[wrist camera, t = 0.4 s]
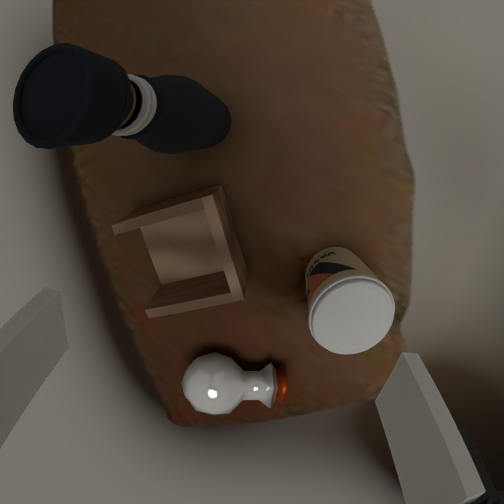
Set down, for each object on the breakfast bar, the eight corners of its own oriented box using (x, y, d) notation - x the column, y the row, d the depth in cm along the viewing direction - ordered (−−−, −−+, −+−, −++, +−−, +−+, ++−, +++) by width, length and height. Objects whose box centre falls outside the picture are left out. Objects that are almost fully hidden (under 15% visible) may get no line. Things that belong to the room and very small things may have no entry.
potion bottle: (184, 349, 49) (277, 351, 51) (183, 407, 47) (276, 409, 48) (178, 351, 41) (290, 354, 42) (177, 420, 38) (289, 422, 40)
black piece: (220, 154, 38) (98, 208, 10) (171, 138, 37) (-21, 163, 9) (238, 105, 36) (159, 17, 7) (189, 90, 35) (21, 10, 7)
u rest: (136, 209, 40) (111, 225, 33) (222, 183, 39) (212, 194, 32) (165, 290, 44) (148, 318, 37) (248, 272, 43) (244, 299, 36)
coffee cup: (326, 226, 40) (348, 261, 29) (379, 262, 42) (413, 306, 30) (285, 283, 43) (291, 334, 32) (339, 314, 45) (358, 368, 33)
